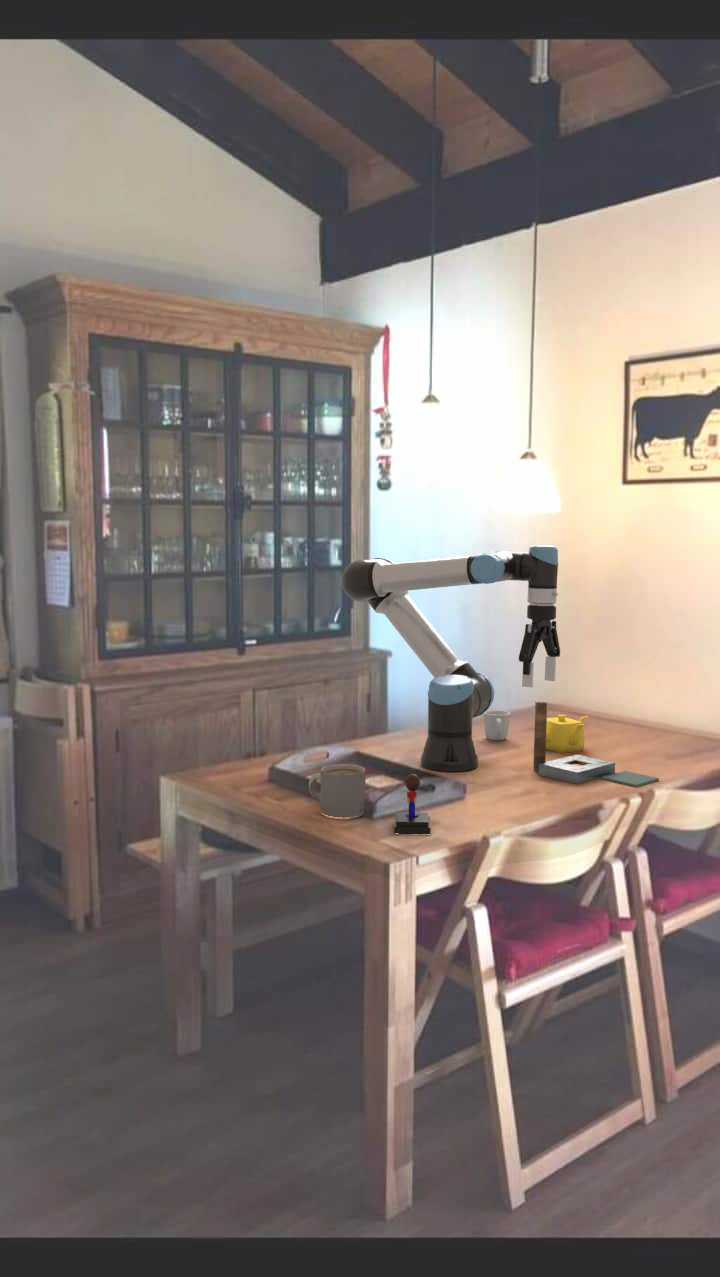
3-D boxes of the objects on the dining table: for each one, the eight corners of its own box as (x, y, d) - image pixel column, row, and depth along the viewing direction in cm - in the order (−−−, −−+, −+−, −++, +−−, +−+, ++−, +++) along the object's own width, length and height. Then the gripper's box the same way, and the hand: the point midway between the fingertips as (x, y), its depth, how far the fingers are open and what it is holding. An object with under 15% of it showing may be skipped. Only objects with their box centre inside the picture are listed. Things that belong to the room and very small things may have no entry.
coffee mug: (374, 812, 232) (374, 768, 231) (345, 822, 224) (345, 777, 223) (328, 801, 240) (329, 759, 239) (299, 810, 233) (299, 767, 232)
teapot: (539, 741, 307) (540, 709, 306) (587, 744, 303) (588, 712, 302) (532, 752, 293) (533, 718, 292) (583, 755, 289) (584, 721, 288)
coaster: (636, 787, 255) (636, 784, 255) (601, 779, 263) (602, 776, 263) (658, 780, 262) (658, 778, 262) (624, 772, 269) (625, 770, 269)
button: (578, 771, 264) (578, 768, 264) (565, 768, 267) (565, 765, 267) (588, 768, 267) (588, 766, 267) (575, 765, 270) (575, 763, 270)
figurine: (429, 823, 224) (430, 769, 223) (430, 835, 216) (431, 778, 214) (394, 822, 224) (395, 768, 223) (394, 834, 216) (395, 778, 215)
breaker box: (576, 784, 258) (577, 772, 257) (538, 775, 267) (539, 763, 266) (614, 774, 268) (615, 762, 268) (576, 765, 277) (577, 754, 277)
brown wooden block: (540, 772, 269) (542, 703, 267) (531, 770, 272) (533, 702, 269) (547, 770, 271) (549, 702, 269) (538, 768, 273) (540, 701, 271)
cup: (512, 744, 303) (513, 717, 302) (485, 743, 303) (485, 716, 302) (508, 736, 314) (508, 710, 313) (481, 735, 314) (482, 709, 313)
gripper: (533, 608, 262) (530, 691, 265) (574, 602, 282) (571, 679, 285) (507, 606, 266) (504, 688, 269) (549, 600, 287) (546, 676, 289)
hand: (538, 683), depth 277 cm, fingers open, 13 cm apart
